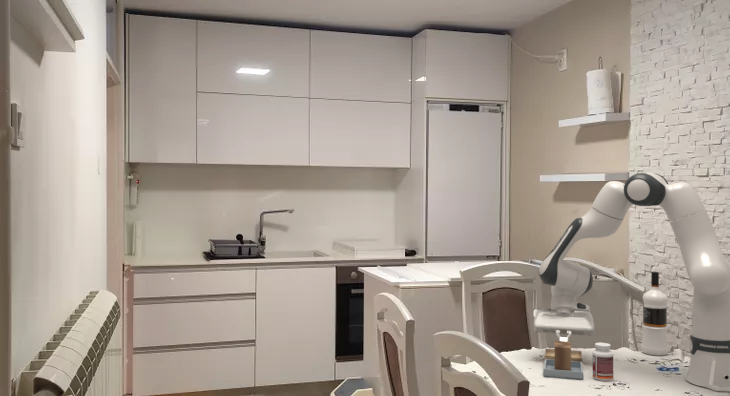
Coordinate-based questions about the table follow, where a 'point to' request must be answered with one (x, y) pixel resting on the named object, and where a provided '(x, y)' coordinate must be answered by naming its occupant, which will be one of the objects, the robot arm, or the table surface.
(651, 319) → the vodka
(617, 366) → the table surface
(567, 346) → the walnut block
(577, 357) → the oak board
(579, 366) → the tray
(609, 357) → the pill bottle
